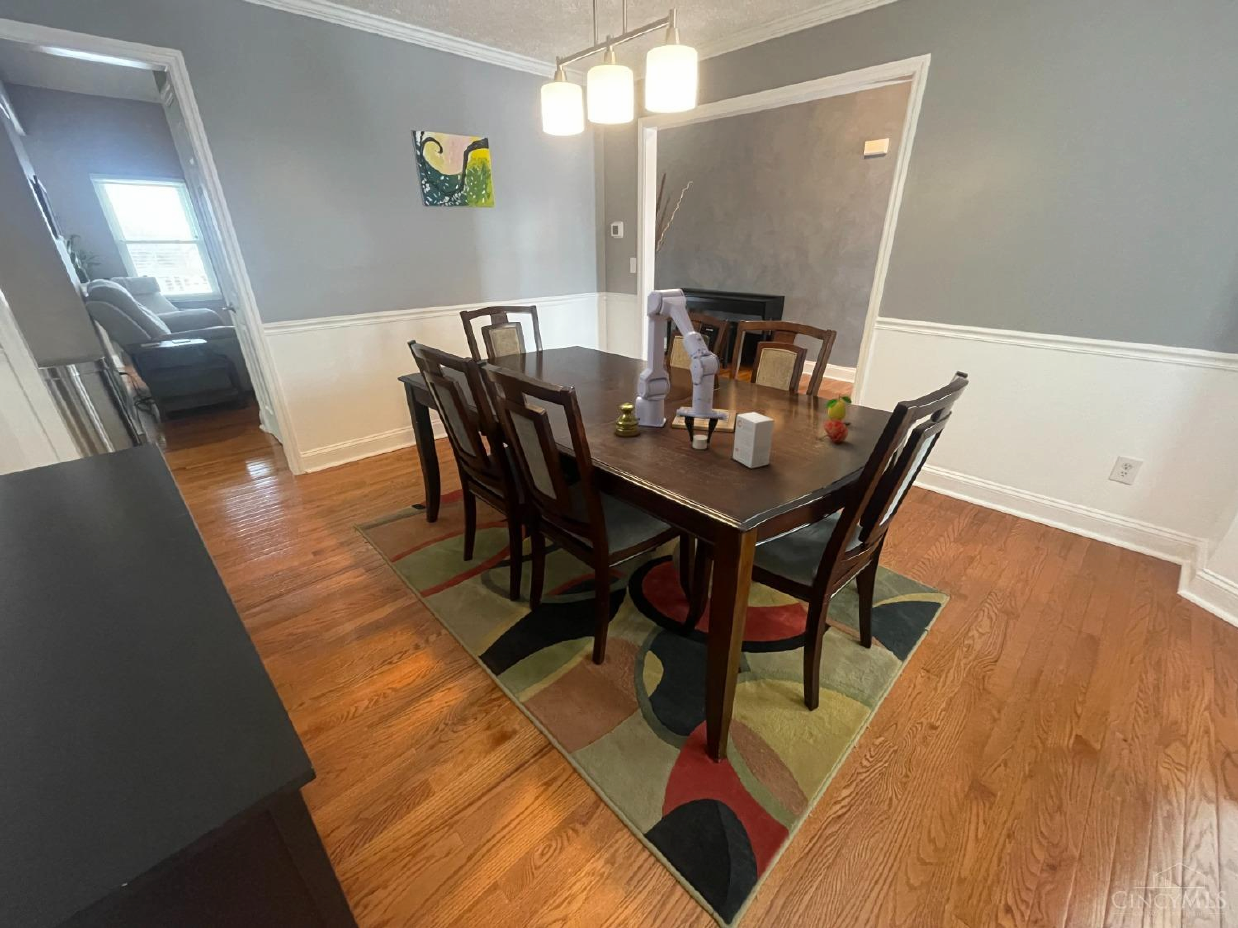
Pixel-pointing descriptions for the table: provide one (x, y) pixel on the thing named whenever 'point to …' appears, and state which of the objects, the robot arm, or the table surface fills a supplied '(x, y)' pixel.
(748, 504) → the table surface
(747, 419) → the small box
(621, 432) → the gold chess pawn
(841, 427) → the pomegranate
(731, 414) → the board
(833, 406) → the yellow pear
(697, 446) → the white short cylinder
